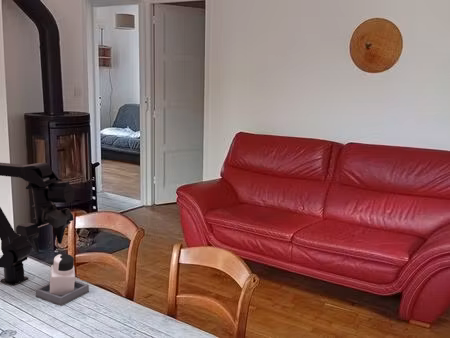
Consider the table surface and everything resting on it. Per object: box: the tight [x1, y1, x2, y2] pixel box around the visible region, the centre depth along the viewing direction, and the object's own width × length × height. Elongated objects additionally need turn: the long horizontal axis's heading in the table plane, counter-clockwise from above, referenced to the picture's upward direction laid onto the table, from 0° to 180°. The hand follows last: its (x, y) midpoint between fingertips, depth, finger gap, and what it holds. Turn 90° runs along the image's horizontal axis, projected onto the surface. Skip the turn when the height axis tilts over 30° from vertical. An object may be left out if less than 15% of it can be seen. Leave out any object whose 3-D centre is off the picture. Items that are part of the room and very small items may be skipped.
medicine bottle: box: [49, 253, 76, 296], centre depth 159 cm, size 7×7×12 cm
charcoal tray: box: [34, 280, 90, 307], centre depth 161 cm, size 12×12×2 cm
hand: (48, 247), depth 165 cm, fingers open, 9 cm apart
